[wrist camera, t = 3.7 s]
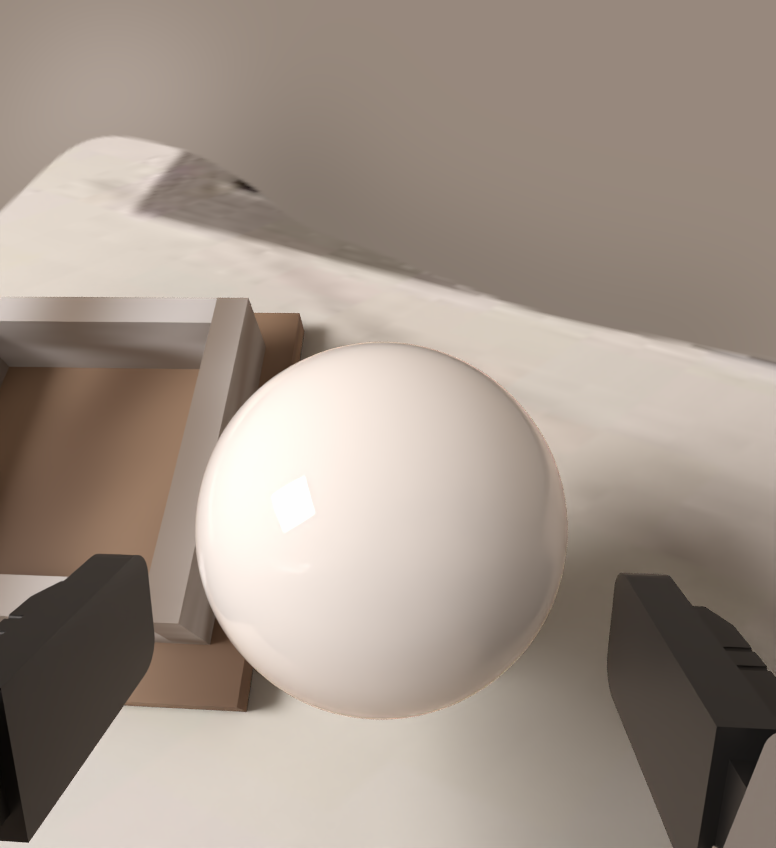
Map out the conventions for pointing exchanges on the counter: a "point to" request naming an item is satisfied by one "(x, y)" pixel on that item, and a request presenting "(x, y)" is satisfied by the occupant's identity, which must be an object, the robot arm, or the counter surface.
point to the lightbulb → (381, 530)
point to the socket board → (129, 457)
